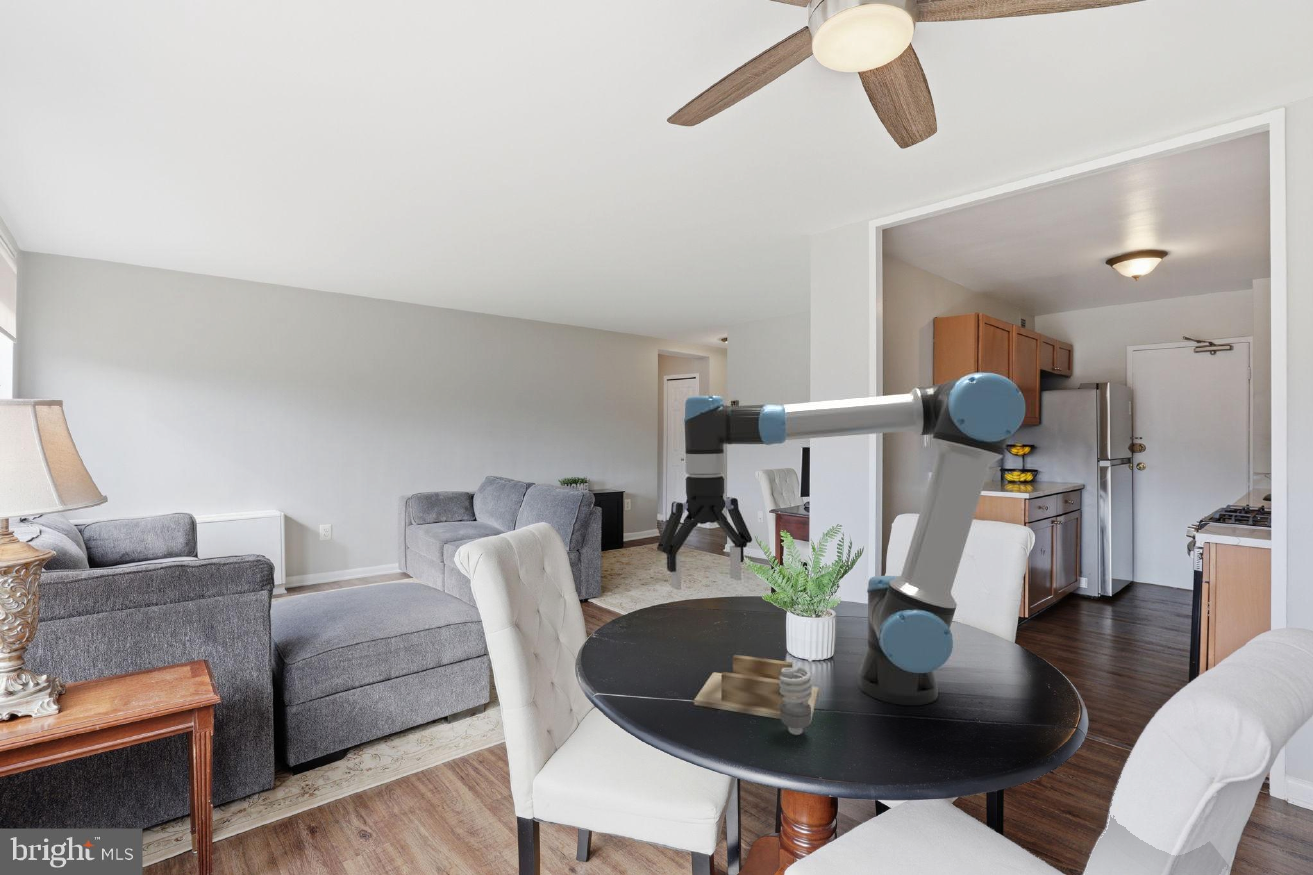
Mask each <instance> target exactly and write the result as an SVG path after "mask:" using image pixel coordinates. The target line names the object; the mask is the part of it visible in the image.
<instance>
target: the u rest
mask: <svg viewBox="0 0 1313 875" xmlns="http://www.w3.org/2000/svg"><path fill="white" fill-rule="evenodd" d="M783 668H793V661H792V662H791V661H785V660H784V661H783V660H776V659H772V658H771V659H770V658H762V657H755V656H754V657H753V656H748V655H741V654H740V655H739V654H734V655H733V656H732V672H728V671H727V672H726V671H723V672H721V673H720V672H712V674H711V675H709V678H708V679H707V680H706V682H705V683H704V685H703V686H702V688H700V691H699V692H698V693H697V695H696V697H695V698H694V699H693V701H694V702H693V704H694V706H700V707H706V708H710V709H711V708H712V709H719V710H723V711H730V712H737V713H741V714H747V715H752V716H761V717H766V718H772V719H773V718H774V719H777V720H778V719H779V720H781V714H780V704H781V703H782V701H783V700H782V698H783V697H786V698H790V699H798V698H802V697H804V696H801V697H788V696H785V695H782V694H781V693H780V688H781V687H780V685H779V683H780V682H781V680H780V676H781V675H782V673H781V669H783ZM788 679H793V678H788ZM803 683H804V682H803ZM804 684H805V683H804ZM786 685H789V686H796V685H791V684H786ZM803 690H805V689H803ZM786 692H793V691H786ZM818 696H819V687H818V686H812V695H811V697H810V699H809V701H808V704H809V705H810V706H811V721H810V724H812V719H813V715H814V712H815V708H816V703H817V700H818ZM810 724H809V725H810Z"/></svg>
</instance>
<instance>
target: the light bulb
mask: <svg viewBox="0 0 1313 875" xmlns="http://www.w3.org/2000/svg"><path fill="white" fill-rule="evenodd" d="M781 673H782V675H781V676H780V680H781V682H780V683H779V685H780V687H781V688H780V693H781V694H782V695H785V696H788V697H801V696H804V697H802V698H798V699H790V698H786V697H783V698H782V700H783V701H782V703H781V704H780V714H781V719H780V721H781V722H782V723H783V724H784V725H785V726H786V727H788V732H789V733H790V734H792V735H794V736H799V735H801V734H802V733H803V732H804V728H807V727H808V726H809V725H810V721H811V722H812V720H811V706H810V705H809V704H808V701H809V699H810V697H811V695H812V687H813V684H812V683H813V679H812V673H811V672H810V670H808V669H807V668H805V667H803V666H799V665H798V666H797V665H796V666H795V667H792V668H783V669H781ZM788 678H792V679H788ZM803 682H804V683H805V684H804V683H803ZM786 684H791V685H796V686H789V685H786ZM803 689H805V690H803ZM786 691H793V692H786Z"/></svg>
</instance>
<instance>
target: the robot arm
mask: <svg viewBox="0 0 1313 875" xmlns="http://www.w3.org/2000/svg"><path fill="white" fill-rule="evenodd" d="M684 407H685V408H684V418H683V419H684V420H683V422H684V423H683V424H684V444H685V445H684V447H685V449H684V450H685V453H684V454H685V473H686V474H687V475H688V476H686V478H685V495H686V500H685V502H679V501H672V503H671V508H670V515H669V517H668V518H667V521H666V524H665V527H664V530H663V532H662V535H661V536H660V540H659V541H658V544H657V547H656V549H657V551H659V552H661V553H663V554H665V555H666V569H667V571H668V572H670V587H671V588H673V589H674V590H677V591H680V590H682V561H681V559H682V558H681V556H682V555H681V554H678V552H679V551H680V550H681V549H682V547H683V544H684V543H685V542H686V541H687V539H688V538H689V536H690V534H691V533H692V532H693V530H694V528H696V527H697V526H698V525H699V524H700V525H704V524H708V523H709V524H710V523H711V524H713V523H714V524H715V523H716V524H717V526H719V527H720V529H721V531H723V532H724V533H725V535H726V536H727V538H728V539H729V540H730V541H731V543H732V544H733V545H729V568H730V569H729V572H730V573H729V574H730V576H729V577H730V578H731V579H733V580H736V581H741V580H742V566H741V565H742V563H744V558H745V557H744V555H745V554H744V548H746V547H747V546H748V544H749V543H752V541H753V538H752V536H751V533H750V531H749V528H748V527H747V524H746V522H745V520H744V518H743V515H742V513H741V510H740V509H739V508H740V507H739V500H738V498H736V497H732V496H728V497H726V498H724V494H725V478H724V476H723V475H722V474H724V473H725V456H724V455H725V452H724V451H725V449H724V446H725V445H766V446H770V445H771V446H772V445H776V444H777V445H779V444H784V443H785V442H786V441H791V440H804V439H805V440H806V439H818V438H819V439H820V438H831V437H832V438H833V437H845V436H859V435H861V436H862V435H873V434H875V435H876V434H888V433H901V432H902V433H903V432H913V433H914V434H915V435H917V436H932V439H931V440H932V442H933V444H934V446H935V447H936V451H937V454H936V457H935V461H934V465H933V466H932V467H933V468H932V470H931V474H930V478H929V481H928V483H927V484H928V485H927V488H926V491H925V494H924V498H923V500H922V504H921V507H920V511H919V515H918V518H917V521H916V525H915V527H914V528H915V529H914V531H913V535H912V538H911V540H910V545H909V548H908V552H907V554H906V557H905V561H904V564H903V568H902V570H901V575H899V576H898V575H875V576H873V577H870V578H869V580H868V583H867V584H868V585H867V590H866V593H867V646H866V652H865V655H864V657H863V660H862V663H861V665H860V668H859V670H858V671H859V672H858V683H857V684H858V688H860V690H861V691H862V692H864V694H866V695H867V696H870V697H872V698H874V699H877V700H879V701H882V702H885V703H890V704H894V705H901V706H922V705H927V704H931V703H933V702H935V701H936V700H937V699H938V697H939V695H938V694H939V692H938V690H939V687H938V686H939V685H938V682H937V677H936V675H935V672H934V671H936V670H938V669H939V668H941V667H942V666H944V665H945V664H946V662H948V660H949V659H950V657H951V655H952V652H953V649H954V640H953V633H952V631H951V626H952V622H953V620H954V616H955V612H956V609H957V606H958V604H957V602H956V600H955V598H954V597H953V595H952V589H953V586H954V584H955V579H956V578H957V574H958V570H959V566H960V563H961V560H962V557H963V553H964V550H965V547H966V544H967V540H968V536H969V534H970V531H971V527H972V524H973V522H974V521H973V520H974V517H975V515H976V511H977V507H978V504H979V501H980V498H981V494H982V492H983V488H984V485H985V482H986V479H987V475H988V472H989V470H990V469H989V468H990V465H991V464H993V463H994V462H996V461H998V460H1000V459H1002V458H1003V456H1004V453H1005V449H1006V447H1007V443H1008V440H1009V437H1011V436H1012V435H1013V434H1014V433H1015V432H1016V431H1017V430H1018V429H1019V427H1020V426H1021V425H1022V424H1023V421H1024V419H1025V414H1026V401H1025V397H1024V395H1023V393H1022V391H1021V390H1020V388H1019V387H1018V386H1017V385H1016V384H1015V383H1014V382H1013V381H1012V380H1010V379H1009V378H1007V377H1006V376H1004V375H1001V374H997V373H992V372H982V371H981V372H974V373H970V374H967V375H965V376H963V377H959V378H958V377H957V378H955V379H952V380H949V381H946V382H941V383H938V384H934V385H930V386H929V385H928V386H924V387H923V386H922V387H921V386H920V387H914V388H912V390H911V391H910V392H909V393H900V394H899V393H897V394H890V395H878V396H877V395H876V396H866V397H855V398H843V399H832V400H822V401H821V400H818V401H809V402H798V403H787V404H770V403H768V404H752V405H750V404H748V405H746V404H745V405H725V403H724V399H723V397H722V396H720V395H695V396H694V395H693V396H688V398H687V399H686V400H685V404H684ZM724 509H726V510H727V512H728V515H729V517H730V519H731V521H732V523H733V525H734V527H735V528H734V527H733V525H732V524H731V523H730V522H729V521H728V520H729V519H728V518H727V516H726V515H725V514H724V513H723V510H724ZM685 512H686V513H687V515H686V516H685V518H684V519H683V523H682V524H681V526H680V527H679V525H680V523H681V521H682V518H683V515H684V513H685ZM678 528H679V529H678Z"/></svg>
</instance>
